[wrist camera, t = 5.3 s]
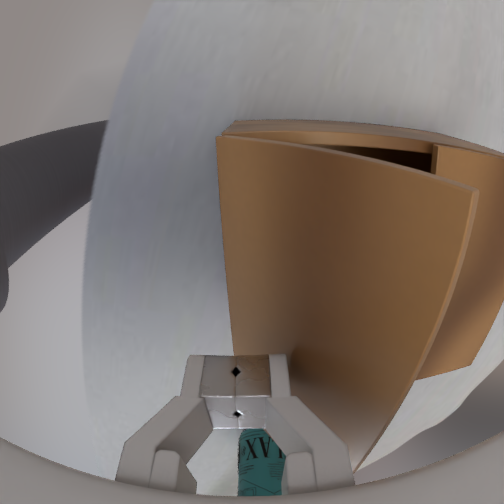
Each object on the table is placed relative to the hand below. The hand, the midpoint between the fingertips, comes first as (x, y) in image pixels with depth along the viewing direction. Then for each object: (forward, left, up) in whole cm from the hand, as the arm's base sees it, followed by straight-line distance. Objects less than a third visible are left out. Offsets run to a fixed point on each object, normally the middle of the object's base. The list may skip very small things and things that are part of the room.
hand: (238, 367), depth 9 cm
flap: (+1, +2, 0) cm, 2 cm away
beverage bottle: (+23, -16, -14) cm, 31 cm away
